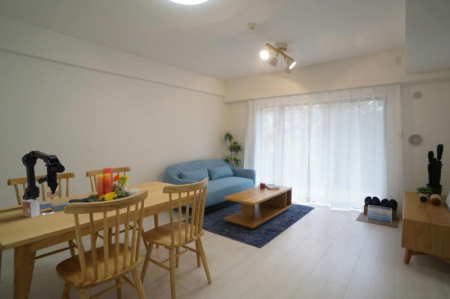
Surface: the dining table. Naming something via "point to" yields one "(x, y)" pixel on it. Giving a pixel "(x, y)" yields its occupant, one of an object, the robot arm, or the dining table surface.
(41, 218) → the dining table surface
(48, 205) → the slate brick
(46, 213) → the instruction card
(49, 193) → the terracotta brick
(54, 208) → the charcoal base brick
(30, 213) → the small box
